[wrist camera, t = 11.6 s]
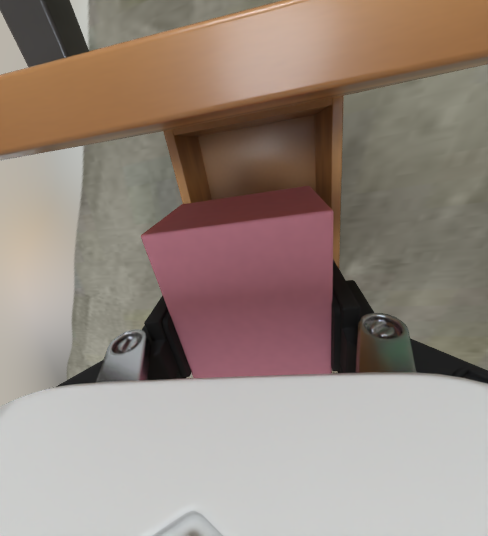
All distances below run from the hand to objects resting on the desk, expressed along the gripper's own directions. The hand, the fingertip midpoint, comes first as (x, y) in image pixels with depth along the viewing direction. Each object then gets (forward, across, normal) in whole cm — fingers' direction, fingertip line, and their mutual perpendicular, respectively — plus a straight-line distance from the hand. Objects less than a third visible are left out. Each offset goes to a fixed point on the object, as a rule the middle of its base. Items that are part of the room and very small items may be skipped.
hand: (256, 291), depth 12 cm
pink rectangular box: (+1, 0, 0) cm, 1 cm away
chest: (+16, 0, -1) cm, 16 cm away
